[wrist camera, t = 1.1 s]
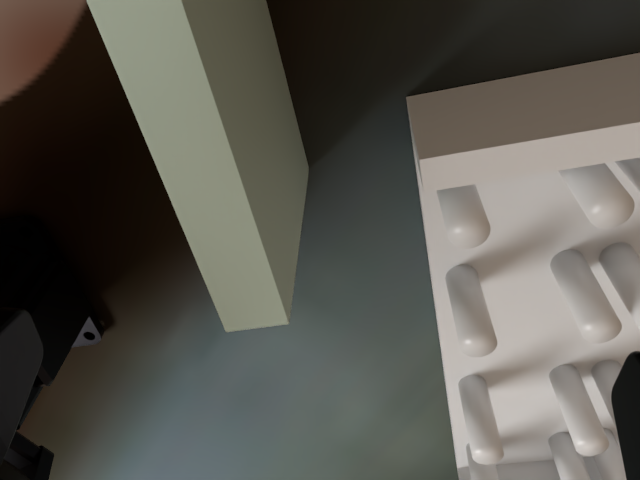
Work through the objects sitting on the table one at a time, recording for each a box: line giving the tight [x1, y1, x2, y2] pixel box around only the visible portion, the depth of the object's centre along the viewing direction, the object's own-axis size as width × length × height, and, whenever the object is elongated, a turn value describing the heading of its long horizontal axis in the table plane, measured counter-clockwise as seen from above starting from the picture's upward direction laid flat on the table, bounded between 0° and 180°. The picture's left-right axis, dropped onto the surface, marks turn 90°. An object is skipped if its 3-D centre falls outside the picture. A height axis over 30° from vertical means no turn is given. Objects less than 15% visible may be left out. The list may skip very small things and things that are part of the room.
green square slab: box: [86, 0, 309, 332], centre depth 15 cm, size 2×8×8 cm, turn 12°
